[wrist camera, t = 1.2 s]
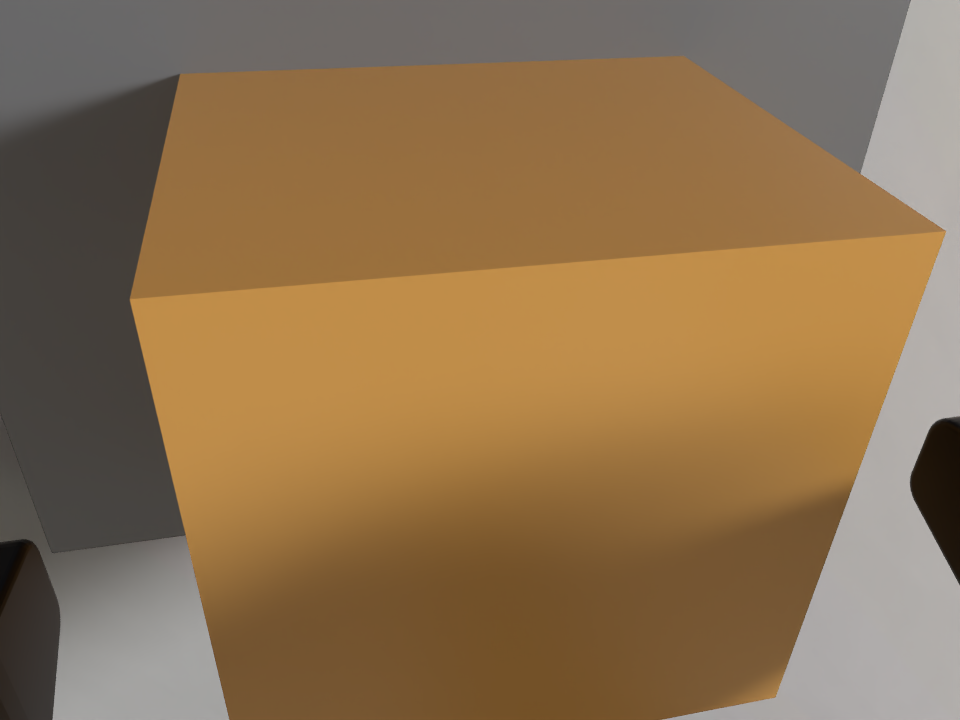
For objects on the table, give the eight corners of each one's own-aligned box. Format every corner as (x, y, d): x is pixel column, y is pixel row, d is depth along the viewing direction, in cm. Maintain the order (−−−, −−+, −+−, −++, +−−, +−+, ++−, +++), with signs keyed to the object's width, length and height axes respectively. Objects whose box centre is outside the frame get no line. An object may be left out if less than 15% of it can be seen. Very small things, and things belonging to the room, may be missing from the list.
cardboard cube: (625, 431, 14) (775, 697, 10) (248, 478, 13) (248, 800, 9) (683, 55, 11) (946, 232, 7) (180, 73, 9) (130, 299, 5)
